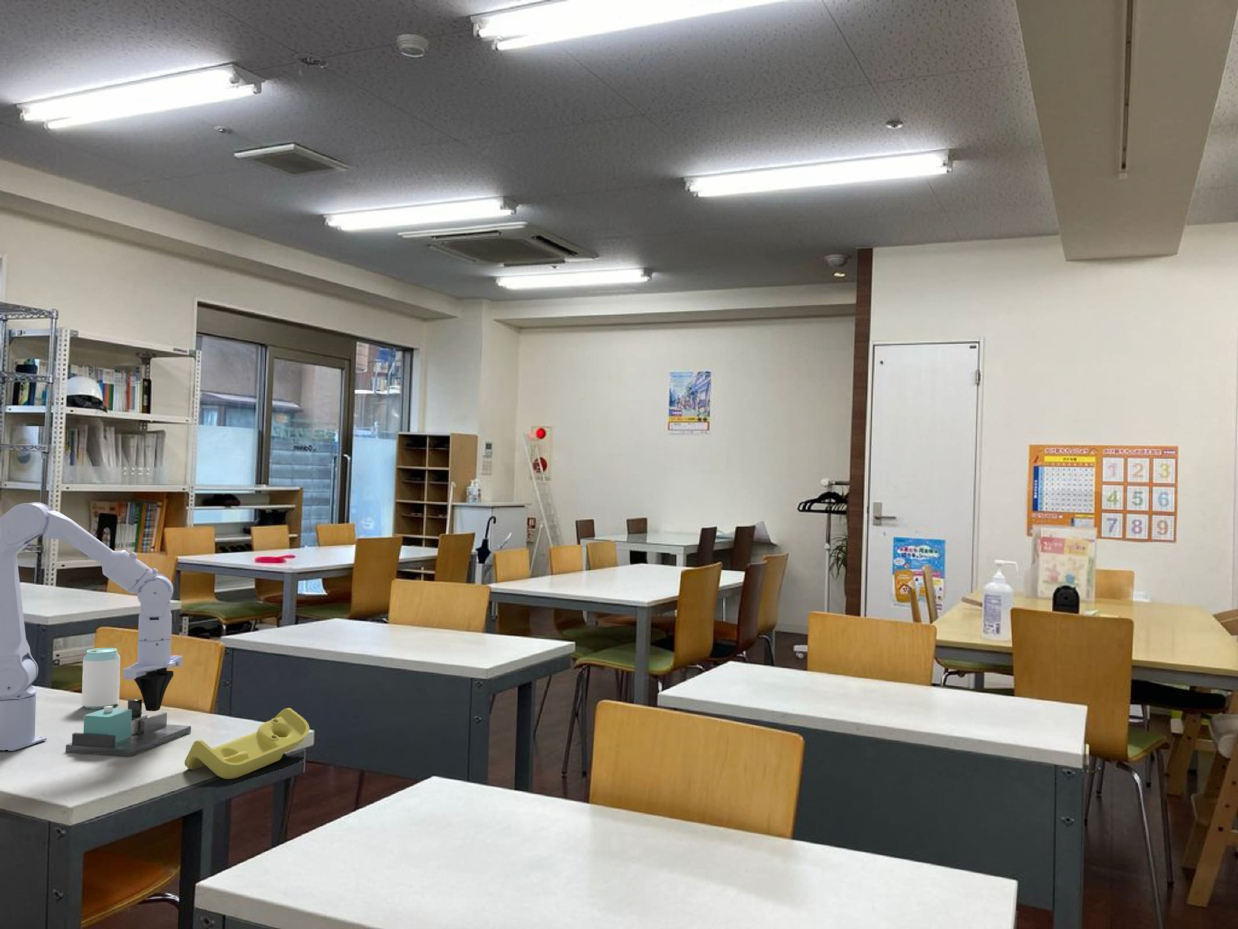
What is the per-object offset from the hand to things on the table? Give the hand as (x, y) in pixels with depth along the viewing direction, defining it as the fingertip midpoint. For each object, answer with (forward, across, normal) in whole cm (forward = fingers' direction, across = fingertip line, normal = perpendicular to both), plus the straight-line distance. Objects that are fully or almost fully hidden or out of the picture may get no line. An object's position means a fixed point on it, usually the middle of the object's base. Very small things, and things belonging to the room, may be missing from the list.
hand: (152, 710), depth 182 cm
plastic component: (+5, -12, -28) cm, 31 cm away
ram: (+3, -4, +2) cm, 5 cm away
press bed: (+5, -6, 0) cm, 8 cm away
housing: (+3, -10, +2) cm, 10 cm away
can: (+5, +18, +26) cm, 31 cm away
